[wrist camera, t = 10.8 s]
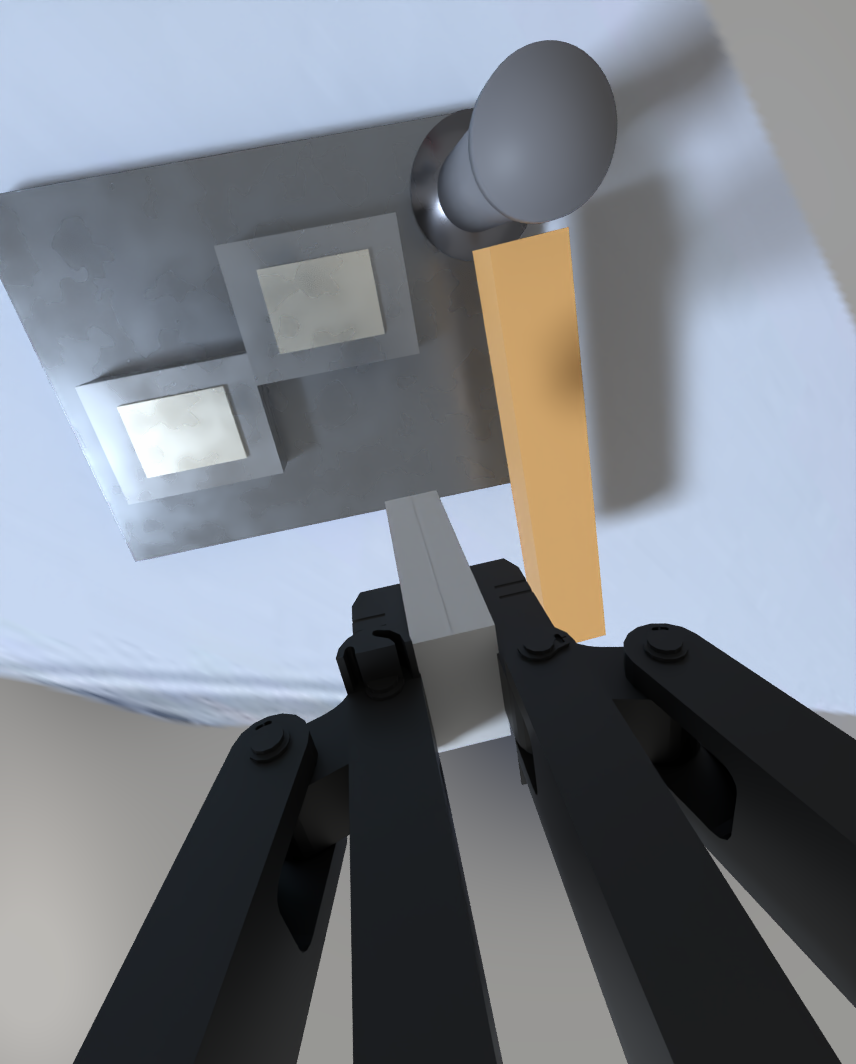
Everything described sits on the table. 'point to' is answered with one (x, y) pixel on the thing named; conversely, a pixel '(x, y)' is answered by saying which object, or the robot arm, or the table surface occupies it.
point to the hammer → (539, 301)
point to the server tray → (181, 308)
